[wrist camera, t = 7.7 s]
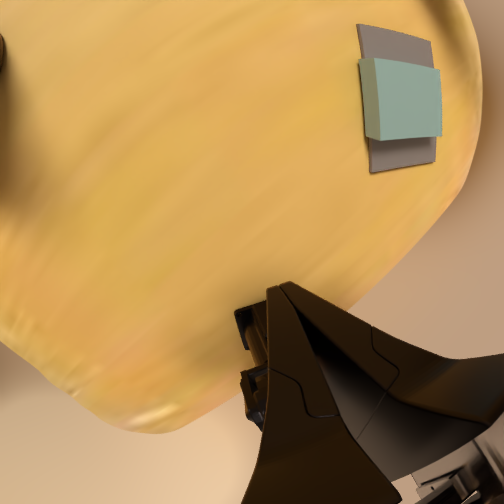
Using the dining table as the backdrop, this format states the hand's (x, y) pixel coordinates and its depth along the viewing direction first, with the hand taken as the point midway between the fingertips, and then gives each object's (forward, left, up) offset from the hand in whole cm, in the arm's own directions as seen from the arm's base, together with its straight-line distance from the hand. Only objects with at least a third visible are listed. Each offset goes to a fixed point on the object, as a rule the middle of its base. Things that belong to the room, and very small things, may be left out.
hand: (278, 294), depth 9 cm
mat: (+5, -19, -13) cm, 24 cm away
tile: (+5, -13, -12) cm, 18 cm away
